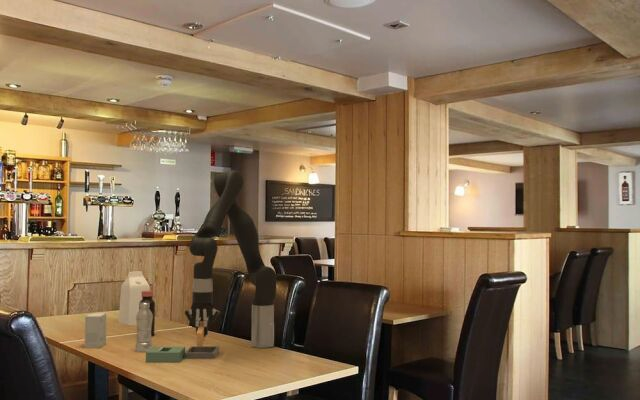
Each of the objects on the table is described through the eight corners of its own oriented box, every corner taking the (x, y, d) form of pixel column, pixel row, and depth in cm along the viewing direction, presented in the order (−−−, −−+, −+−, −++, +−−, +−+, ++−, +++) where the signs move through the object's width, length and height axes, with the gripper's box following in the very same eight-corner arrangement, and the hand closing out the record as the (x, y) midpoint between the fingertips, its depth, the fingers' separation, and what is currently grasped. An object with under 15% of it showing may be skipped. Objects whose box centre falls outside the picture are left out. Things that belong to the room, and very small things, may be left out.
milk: (140, 320, 316) (141, 270, 317) (150, 323, 308) (151, 271, 309) (118, 322, 308) (119, 271, 309) (128, 325, 300) (129, 272, 300)
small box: (90, 344, 255) (91, 313, 255) (106, 344, 255) (106, 313, 255) (84, 348, 247) (84, 316, 247) (99, 348, 247) (100, 316, 247)
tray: (219, 355, 235) (219, 346, 235) (214, 362, 223) (214, 353, 223) (190, 355, 235) (190, 346, 235) (184, 362, 223) (184, 353, 223)
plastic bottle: (137, 356, 232) (137, 304, 233) (133, 353, 238) (134, 302, 239) (154, 355, 235) (155, 303, 236) (150, 351, 241) (151, 301, 242)
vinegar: (156, 334, 277) (157, 290, 278) (150, 337, 270) (151, 292, 271) (142, 334, 278) (142, 290, 279) (136, 336, 271) (137, 291, 272)
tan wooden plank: (202, 346, 225) (206, 334, 234) (201, 333, 223) (205, 321, 232) (196, 346, 225) (201, 334, 234) (196, 333, 223) (200, 321, 232)
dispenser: (185, 360, 227) (185, 345, 227) (179, 366, 217) (179, 351, 217) (152, 360, 227) (153, 345, 227) (145, 366, 217) (145, 351, 217)
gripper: (222, 289, 234) (221, 334, 233) (186, 289, 234) (185, 334, 233) (219, 291, 226) (218, 338, 226) (182, 291, 226) (181, 338, 225)
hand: (201, 336), depth 229 cm, fingers closed on tan wooden plank, 1 cm apart
